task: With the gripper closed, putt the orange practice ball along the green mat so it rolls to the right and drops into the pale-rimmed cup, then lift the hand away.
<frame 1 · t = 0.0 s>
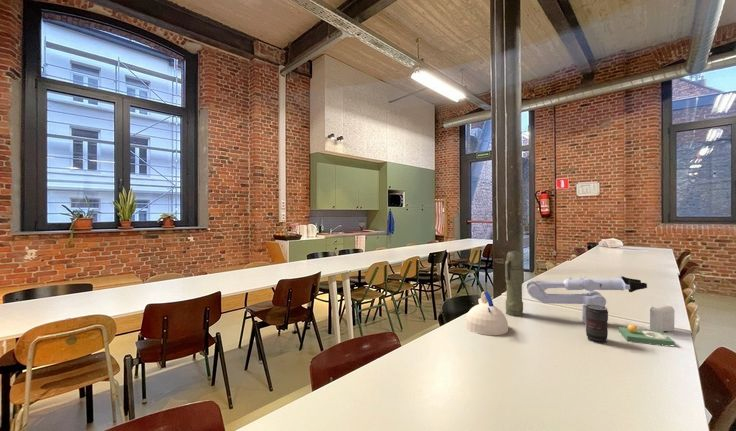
hand: (643, 283, 156), 22 cm above the table, tool horizontal, fingers open, 7 cm apart
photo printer: (662, 331, 154), on the table
mat: (645, 338, 144), on the table
kettle: (486, 328, 161), on the table
thermos: (514, 314, 181), on the table
ball: (632, 328, 146), point 4 cm above the table, touching mat
camera lens: (596, 341, 143), on the table
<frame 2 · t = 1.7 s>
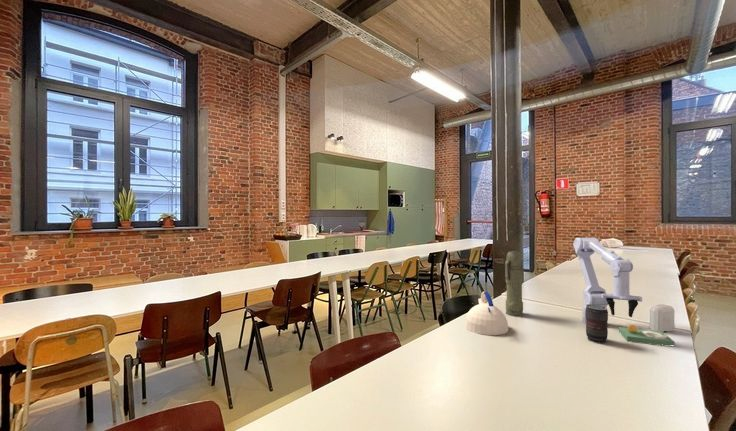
hand: (621, 315, 148), 9 cm above the table, tool pointing down, fingers open, 6 cm apart
nothing on the table moved.
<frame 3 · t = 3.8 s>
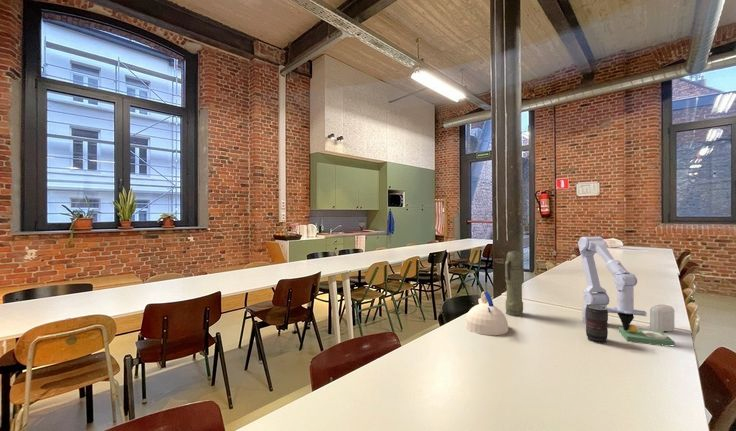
hand: (625, 329, 147), 3 cm above the table, tool pointing down, fingers closed, pressing on ball
ball: (632, 328, 146), point 4 cm above the table, touching gripper, mat
everything else where it was.
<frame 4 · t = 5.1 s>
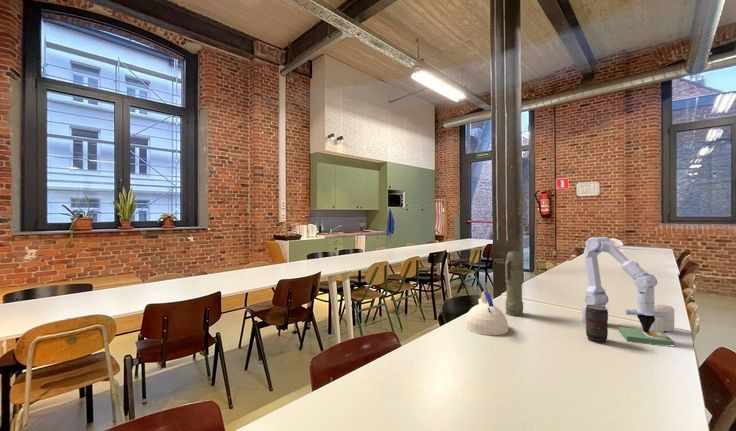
hand: (645, 332, 144), 3 cm above the table, tool pointing down, fingers closed
ball: (652, 335, 144), point 2 cm above the table, tilted 94°
everything else where it was.
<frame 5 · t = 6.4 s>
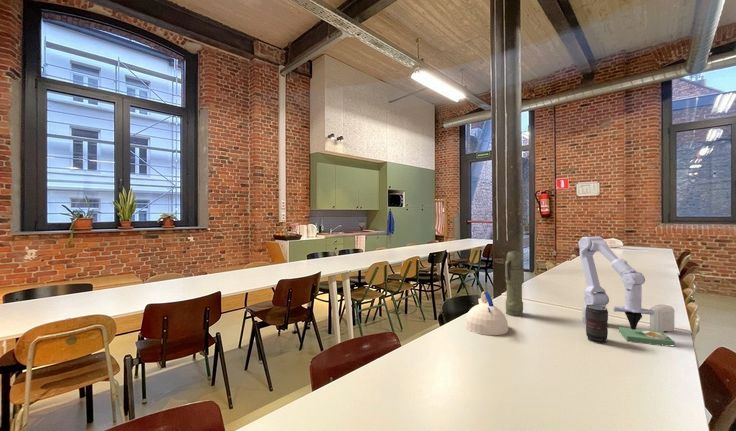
hand: (633, 328, 147), 4 cm above the table, tool pointing down, fingers closed
ball: (652, 336, 143), point 2 cm above the table, tilted 98°
everything else where it was.
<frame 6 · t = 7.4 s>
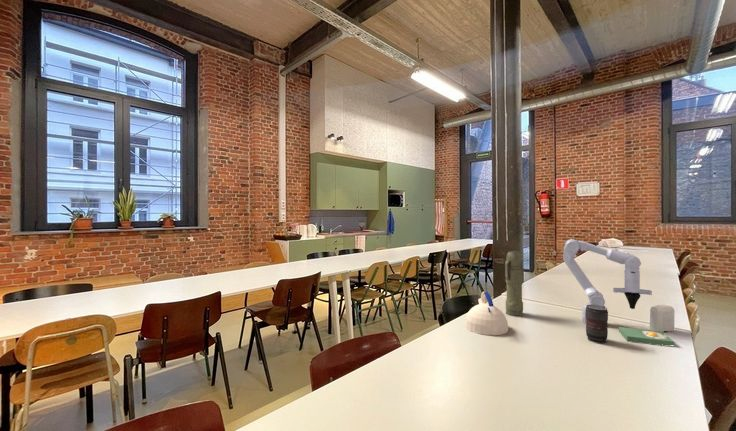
hand: (632, 308, 157), 10 cm above the table, tool pointing down, fingers closed
nothing on the table moved.
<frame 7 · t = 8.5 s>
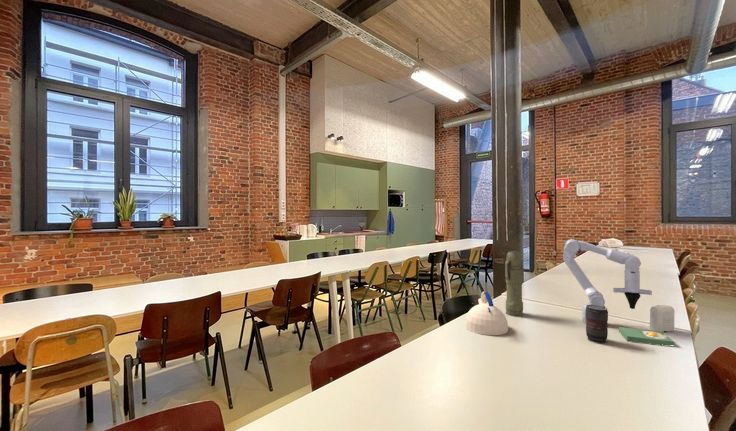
hand: (632, 308, 157), 10 cm above the table, tool pointing down, fingers closed
nothing on the table moved.
at the end: ball 0.6 cm from the target spot in the mat, point 1.8 cm above the mat's base; ball touching table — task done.
